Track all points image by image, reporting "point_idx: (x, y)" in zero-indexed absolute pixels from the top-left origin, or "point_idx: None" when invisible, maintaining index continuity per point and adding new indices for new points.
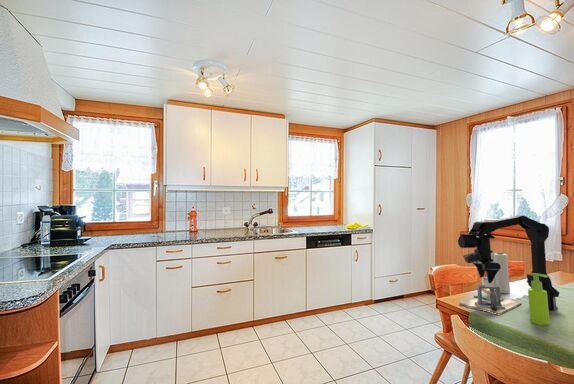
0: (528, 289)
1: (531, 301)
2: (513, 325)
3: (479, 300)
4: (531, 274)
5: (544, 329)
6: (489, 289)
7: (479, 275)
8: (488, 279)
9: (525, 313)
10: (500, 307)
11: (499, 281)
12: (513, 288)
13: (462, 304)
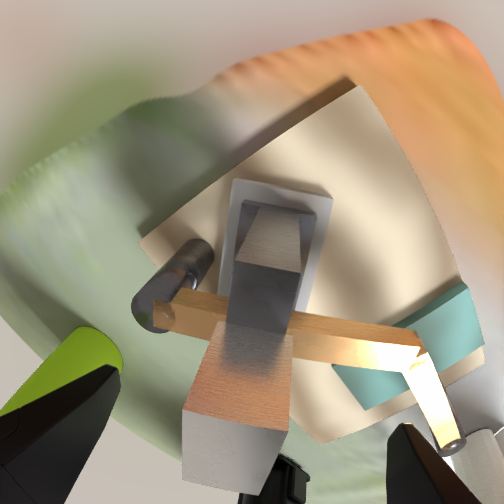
0: None
1: (30, 385)
2: (40, 222)
3: (268, 211)
4: None
5: (37, 310)
6: (449, 405)
7: (425, 444)
8: (63, 386)
9: None
10: None
11: (485, 472)
12: None
13: (336, 99)
